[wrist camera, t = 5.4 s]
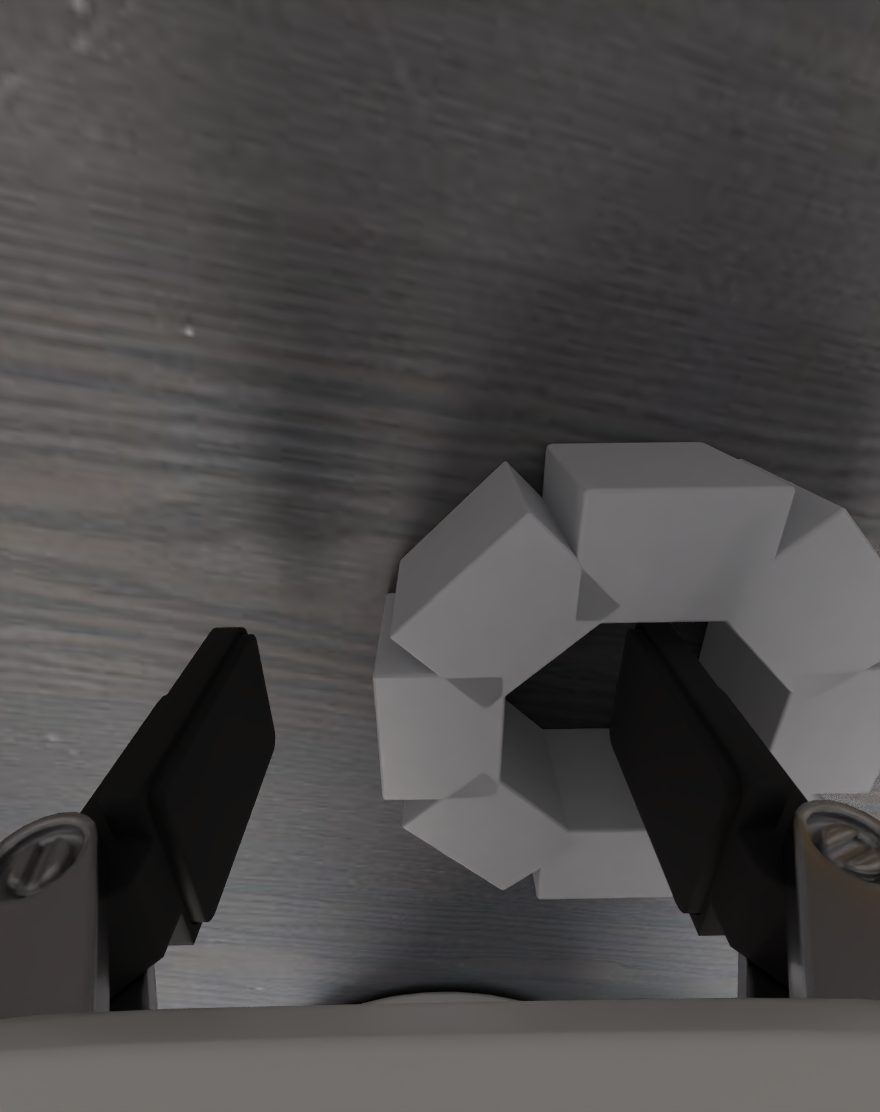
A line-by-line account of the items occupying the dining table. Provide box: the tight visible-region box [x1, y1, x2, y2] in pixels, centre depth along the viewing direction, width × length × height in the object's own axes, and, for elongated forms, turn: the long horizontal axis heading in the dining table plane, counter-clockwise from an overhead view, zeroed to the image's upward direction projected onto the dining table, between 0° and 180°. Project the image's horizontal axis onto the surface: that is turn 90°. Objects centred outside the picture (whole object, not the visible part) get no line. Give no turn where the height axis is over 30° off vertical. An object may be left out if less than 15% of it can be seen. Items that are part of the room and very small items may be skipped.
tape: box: [372, 442, 880, 899], centre depth 11 cm, size 10×10×3 cm
